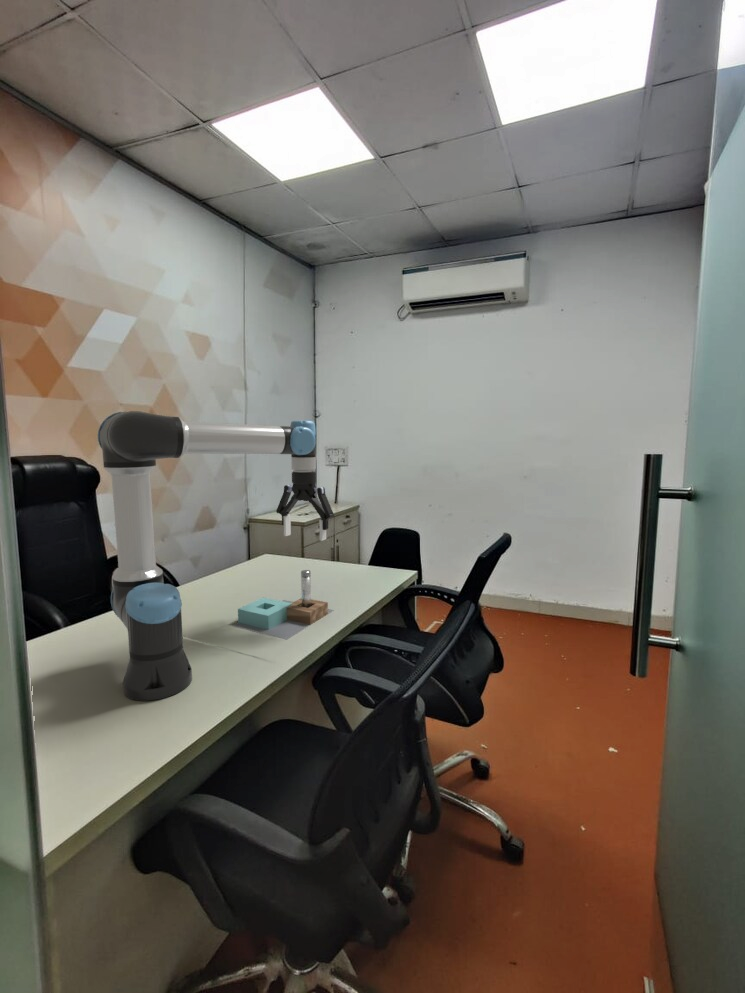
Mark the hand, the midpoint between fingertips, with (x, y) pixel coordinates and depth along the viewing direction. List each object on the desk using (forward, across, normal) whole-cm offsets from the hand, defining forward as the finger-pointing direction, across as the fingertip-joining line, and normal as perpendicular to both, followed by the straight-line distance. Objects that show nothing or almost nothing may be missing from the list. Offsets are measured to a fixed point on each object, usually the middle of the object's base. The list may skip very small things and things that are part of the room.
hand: (304, 537), depth 153 cm
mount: (+26, 0, 0) cm, 26 cm away
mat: (+27, +5, +4) cm, 27 cm away
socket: (+26, +10, +8) cm, 29 cm away
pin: (+26, 0, 0) cm, 26 cm away
